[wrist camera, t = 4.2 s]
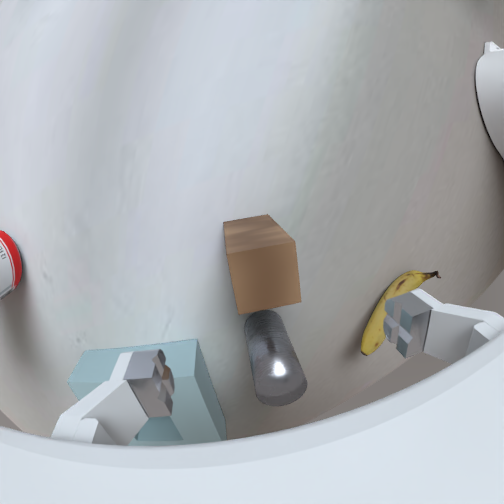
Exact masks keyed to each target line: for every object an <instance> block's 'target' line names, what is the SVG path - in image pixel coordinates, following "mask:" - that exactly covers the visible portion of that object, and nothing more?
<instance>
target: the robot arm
mask: <svg viewBox="0 0 504 504" xmlns="http://www.w3.org/2000/svg"><path fill="white" fill-rule="evenodd" d="M476 88H477V95H478V100H479V105H480V109H481V112H482V116H483V119H484V122H485V125H486V128H487V130H488V133H489V135H490V137H491V139H492V141H493V143H494V145H495V147H496V148H497V150H498V151H499V153H500V154H501V156H502V157H503V159H504V49H500V48H499V47H498V46H497V45H496V44H494V43H493V42H486V43H485V49H484V55H483V56H482V57H481V58H480V59H479V61H478V63H477V67H476ZM384 310H385V311H386V313H387V315H386V317H385V318H384V320H383V329H384V333H385V336H386V338H387V339H388V340H389V341H390V342H391V343H394V344H397V347H396V349H397V350H398V351H399V352H400V353H401V354H402V355H403V356H404V357H405V359H406V358H408V357H411V356H413V355H415V354H418V353H420V352H424V353H427V354H429V355H431V356H434V357H436V358H439V359H441V360H444V361H446V362H448V363H451V364H452V365H450V366H448V367H446V368H445V369H443V370H441V371H439V372H437V373H435V374H434V375H432V376H430V377H428V378H426V379H424V380H422V381H420V382H418V383H416V384H414V385H412V386H409V387H407V388H405V389H403V390H401V391H398V392H396V393H394V394H392V395H389V396H387V397H384V398H382V399H380V400H377V401H374V402H372V403H369V404H367V405H364V406H362V407H359V408H356V409H353V410H350V411H347V412H345V413H342V414H338V415H335V416H332V417H329V418H326V419H322V420H319V421H316V422H312V423H309V424H305V425H301V426H297V427H293V428H289V429H285V430H281V431H276V432H271V433H267V434H262V435H256V436H251V437H245V438H239V439H232V440H225V441H217V442H208V443H198V444H185V445H166V446H128V444H129V443H130V442H131V441H132V439H133V438H134V437H135V436H136V434H137V433H138V432H139V431H140V429H141V428H142V427H143V426H144V424H145V423H146V422H147V421H148V419H149V418H151V417H163V416H172V407H173V401H172V399H171V396H172V395H173V394H174V389H175V385H174V378H173V374H172V371H171V369H170V368H169V367H168V366H167V365H165V362H166V357H165V355H164V352H163V351H162V350H161V349H153V350H143V351H135V352H134V351H131V352H123V353H121V354H120V355H119V357H118V360H117V362H116V365H115V367H114V369H113V372H112V374H111V377H110V379H109V381H105V382H103V383H102V384H101V385H99V386H98V387H97V388H95V389H94V390H93V391H92V392H90V393H89V394H88V395H86V396H85V397H84V398H82V399H81V400H80V401H78V402H77V403H76V404H75V405H73V406H72V407H71V408H69V409H68V410H67V411H65V412H64V413H63V414H61V415H60V417H59V420H58V422H57V424H56V426H55V429H54V431H53V433H52V436H51V438H50V437H44V436H39V435H35V434H30V433H26V432H22V431H18V430H14V429H10V428H6V427H3V426H0V504H504V318H503V317H502V316H500V315H499V314H497V313H496V312H492V311H486V310H480V309H475V308H469V307H463V306H458V305H452V304H447V303H446V304H442V303H441V302H439V301H438V300H436V299H435V298H434V297H432V296H431V295H429V294H428V293H426V292H425V291H423V290H422V289H415V290H412V291H409V292H407V293H404V294H402V295H399V296H396V297H393V298H390V299H387V300H386V302H385V308H384Z"/></svg>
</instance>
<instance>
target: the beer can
mask: <svg viewBox="0 0 504 504" xmlns="http://www.w3.org/2000/svg"><path fill="white" fill-rule="evenodd" d="M21 274H22V262H21V256H20V252H19V250H18V248H17V245H16V244H15V242H14V241H13V240H12V238H11V237H10V236H9V235H8V234H6V233H5V232H4V231H1V230H0V300H1V299H2V298H4V297H5V296H6V295H7V294H9V293H10V292H11V291H13V290H14V289H15V288H16V287H17V285H18V283H19V282H20V280H21Z"/></svg>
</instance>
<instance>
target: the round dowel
mask: <svg viewBox="0 0 504 504" xmlns="http://www.w3.org/2000/svg"><path fill="white" fill-rule="evenodd" d="M244 329H245V335H246V341H247V346H248V352H249V358H250V363H251V369H252V374H253V380H254V385H255V391H256V395H257V398H258V399H259V400H260V401H261V402H262V403H264V404H266V405H270V406H282V405H287V404H290V403H292V402H294V401H296V400H297V399H299V398H300V397H301V396H302V395H303V394H304V393H305V391H306V388H307V380H306V378H305V375H304V373H303V370H302V368H301V365H300V363H299V360H298V358H297V356H296V353H295V351H294V348H293V346H292V343H291V341H290V339H289V336H288V334H287V331H286V329H285V326H284V324H283V321H282V319H281V317H280V316H279V315H278V314H277V313H275V312H273V311H270V310H261V311H258V312H255V313H253V314H252V315H251V316H250V317H249V318H248V319H247V320H246V323H245V327H244Z"/></svg>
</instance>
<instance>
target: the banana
mask: <svg viewBox="0 0 504 504" xmlns="http://www.w3.org/2000/svg"><path fill="white" fill-rule="evenodd" d="M435 275H436V276H437V278H441V277H440V276H439V275H438V271H435V272H432V273H422V272H419V271H415V270H413V271H408V272H406V273H404V274H402V275H401V276H399V277H398V278H397V279H396V280H395V281H394V282H393V283H392V284H391V285H390V286H389V287H388V289H387V290H386V292H385V293H384V294H383V296H382V298H381V299H380V301H379V302H378V304H377V306H376V308H375V310H374V312H373V314H372V316H371V318H370V320H369V322H368V324H367V326H366V328H365V330H364V333H363V337H362V341H361V353H362V354H363V355H366V356H367V355H369V354H371V353H372V352H374V351H375V350H376V349H377V348H378V347H379V346H380V345H381V344H382V342H383V341H384V339H385V338H386V336H385V333H384V329H383V320H384V318H385V317H386V315H387V313H386V311H385V310H384V308H385V302H386V300H387V299H390V298H393V297H396V296H399V295H402V294H404V293H407V292H409V291H412V290H415V289H417V288H418V287H419V286H420V285H421V284H422V283H423V282H424V281H426V280H427V279H429V278H432V277H434V276H435Z"/></svg>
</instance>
